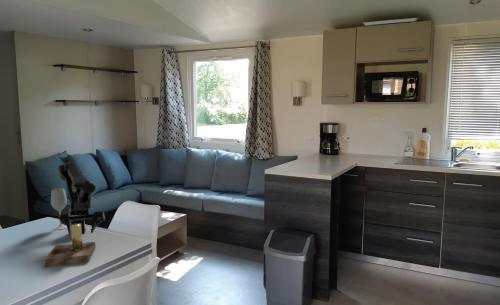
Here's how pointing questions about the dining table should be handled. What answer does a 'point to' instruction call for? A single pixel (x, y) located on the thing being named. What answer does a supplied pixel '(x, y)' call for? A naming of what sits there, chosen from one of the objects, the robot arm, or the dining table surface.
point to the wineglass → (59, 203)
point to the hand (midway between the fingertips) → (80, 234)
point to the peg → (76, 236)
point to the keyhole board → (69, 254)
